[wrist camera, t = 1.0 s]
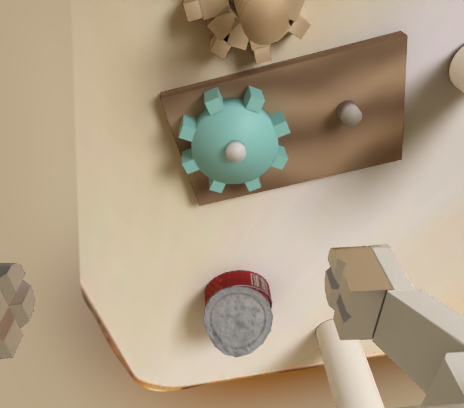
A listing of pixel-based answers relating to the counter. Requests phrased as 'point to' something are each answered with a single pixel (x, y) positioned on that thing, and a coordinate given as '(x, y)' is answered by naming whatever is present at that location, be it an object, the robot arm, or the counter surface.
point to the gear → (233, 139)
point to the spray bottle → (347, 370)
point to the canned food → (238, 312)
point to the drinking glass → (457, 70)
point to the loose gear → (248, 23)
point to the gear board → (314, 111)
